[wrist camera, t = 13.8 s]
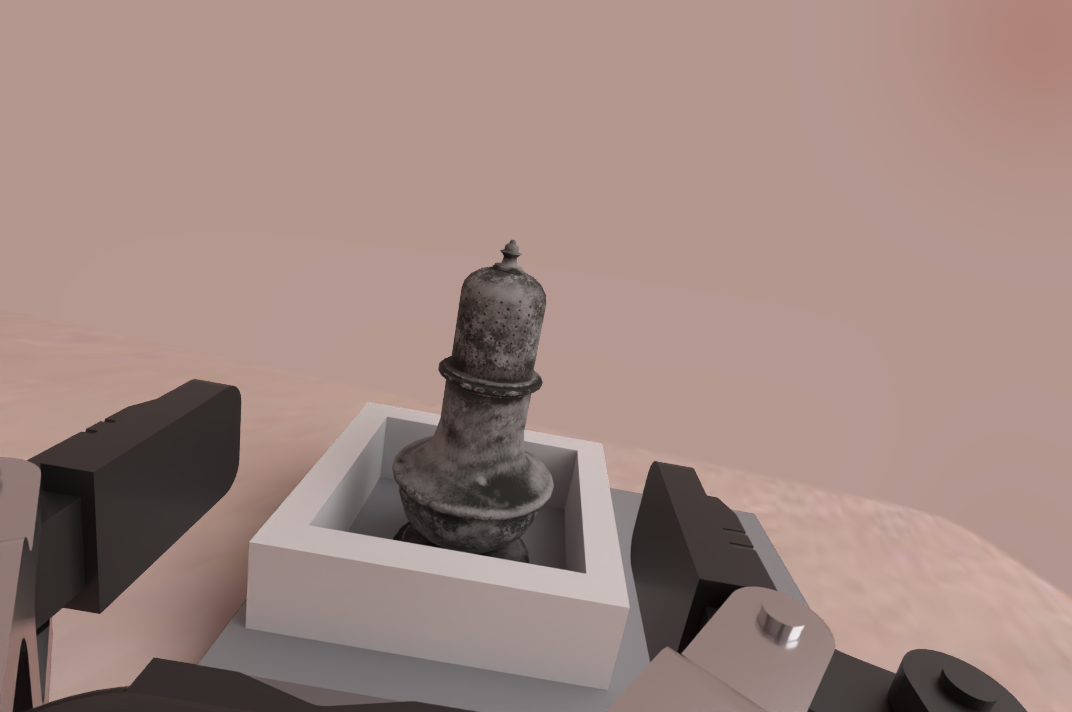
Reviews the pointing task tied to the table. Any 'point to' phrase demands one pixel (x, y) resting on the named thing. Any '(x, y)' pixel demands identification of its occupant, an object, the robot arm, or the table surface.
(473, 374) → the salt shaker
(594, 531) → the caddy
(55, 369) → the table surface
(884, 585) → the table surface
